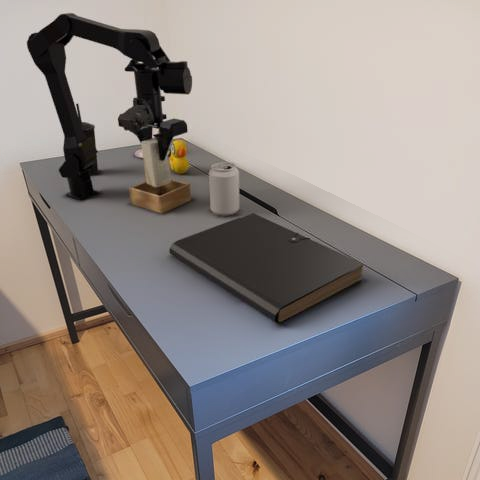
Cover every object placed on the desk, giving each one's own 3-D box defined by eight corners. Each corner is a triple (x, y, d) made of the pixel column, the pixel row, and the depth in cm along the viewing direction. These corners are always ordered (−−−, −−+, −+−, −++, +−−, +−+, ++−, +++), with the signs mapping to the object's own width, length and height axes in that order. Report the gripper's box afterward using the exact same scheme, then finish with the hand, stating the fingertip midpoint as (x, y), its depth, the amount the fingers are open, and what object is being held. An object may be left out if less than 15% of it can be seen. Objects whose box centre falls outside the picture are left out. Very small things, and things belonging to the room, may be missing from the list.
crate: (131, 204, 129) (128, 187, 127) (160, 191, 137) (159, 175, 134) (162, 213, 124) (160, 197, 121) (191, 200, 131) (189, 184, 129)
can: (236, 218, 121) (235, 170, 114) (207, 215, 123) (205, 169, 116) (241, 206, 127) (241, 161, 120) (214, 204, 128) (212, 159, 122)
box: (161, 179, 130) (157, 136, 123) (171, 183, 127) (167, 140, 121) (145, 184, 127) (140, 140, 120) (155, 188, 124) (150, 144, 118)
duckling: (194, 177, 146) (192, 143, 140) (177, 179, 145) (174, 145, 139) (183, 166, 155) (181, 134, 149) (167, 168, 153) (164, 136, 147)
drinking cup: (107, 171, 151) (96, 102, 139) (89, 178, 146) (76, 107, 134) (90, 167, 154) (78, 99, 143) (72, 173, 149) (57, 104, 138)
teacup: (140, 161, 159) (137, 142, 156) (131, 151, 168) (128, 133, 165) (174, 156, 164) (173, 137, 160) (164, 147, 172) (162, 129, 169)
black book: (365, 262, 94) (275, 309, 81) (362, 280, 96) (274, 328, 84) (253, 211, 114) (168, 242, 102) (253, 227, 117) (170, 259, 104)
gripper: (95, 93, 113) (107, 160, 122) (152, 103, 104) (160, 174, 113) (130, 86, 121) (138, 149, 130) (186, 94, 112) (191, 162, 121)
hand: (155, 158), depth 123 cm, fingers closed on box, 4 cm apart
